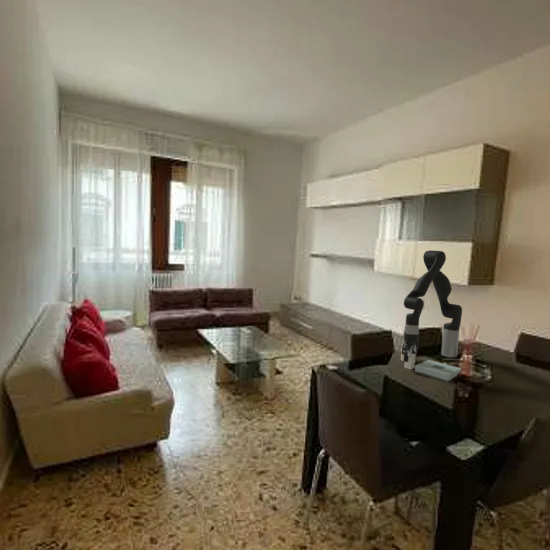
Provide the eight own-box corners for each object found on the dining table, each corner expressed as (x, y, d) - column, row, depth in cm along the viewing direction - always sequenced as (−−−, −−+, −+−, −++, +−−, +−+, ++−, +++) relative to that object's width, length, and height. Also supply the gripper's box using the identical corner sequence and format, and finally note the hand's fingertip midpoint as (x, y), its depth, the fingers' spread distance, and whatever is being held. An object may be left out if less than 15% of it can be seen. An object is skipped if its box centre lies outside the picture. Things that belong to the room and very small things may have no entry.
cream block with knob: (407, 366, 215) (408, 351, 214) (414, 368, 212) (415, 353, 211) (404, 367, 212) (405, 352, 212) (410, 369, 209) (411, 354, 209)
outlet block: (428, 366, 215) (428, 359, 215) (460, 375, 202) (461, 368, 202) (414, 372, 204) (415, 365, 204) (448, 382, 191) (448, 374, 191)
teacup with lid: (413, 364, 219) (414, 344, 218) (397, 360, 224) (399, 341, 223) (420, 359, 228) (421, 341, 227) (405, 356, 234) (406, 338, 232)
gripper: (411, 329, 218) (409, 356, 219) (398, 332, 208) (396, 360, 210) (423, 332, 212) (421, 359, 214) (411, 335, 203) (409, 364, 204)
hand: (409, 360), depth 212 cm, fingers open, 8 cm apart
